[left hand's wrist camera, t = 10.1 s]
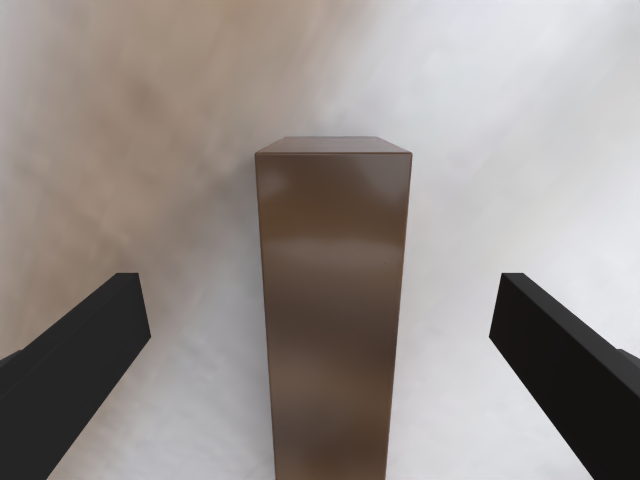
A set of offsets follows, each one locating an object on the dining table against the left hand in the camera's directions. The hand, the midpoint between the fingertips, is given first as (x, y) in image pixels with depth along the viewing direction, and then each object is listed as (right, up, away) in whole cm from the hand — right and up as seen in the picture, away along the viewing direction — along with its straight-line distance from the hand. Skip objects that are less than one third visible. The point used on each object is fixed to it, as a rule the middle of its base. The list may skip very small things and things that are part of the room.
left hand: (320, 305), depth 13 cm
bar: (+1, -23, +17) cm, 29 cm away
